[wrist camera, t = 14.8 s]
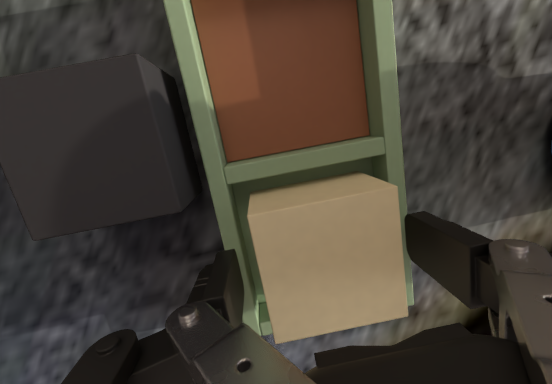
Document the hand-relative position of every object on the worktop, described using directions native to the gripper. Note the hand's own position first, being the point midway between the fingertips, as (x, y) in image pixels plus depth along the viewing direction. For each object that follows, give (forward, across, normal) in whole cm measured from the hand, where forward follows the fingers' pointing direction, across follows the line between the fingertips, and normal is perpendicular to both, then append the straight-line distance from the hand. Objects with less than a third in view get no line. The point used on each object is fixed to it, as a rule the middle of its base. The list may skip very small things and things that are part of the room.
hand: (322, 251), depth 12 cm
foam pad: (+2, 0, 0) cm, 2 cm away
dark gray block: (+3, +8, -6) cm, 10 cm away
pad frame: (+3, 0, -4) cm, 5 cm away
